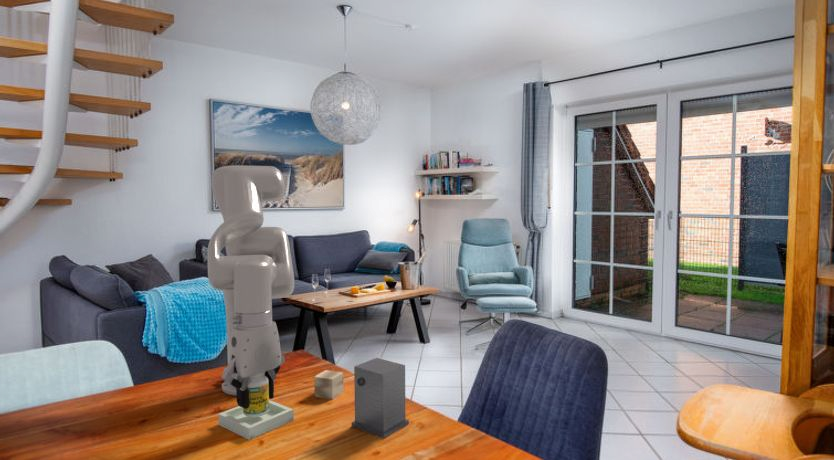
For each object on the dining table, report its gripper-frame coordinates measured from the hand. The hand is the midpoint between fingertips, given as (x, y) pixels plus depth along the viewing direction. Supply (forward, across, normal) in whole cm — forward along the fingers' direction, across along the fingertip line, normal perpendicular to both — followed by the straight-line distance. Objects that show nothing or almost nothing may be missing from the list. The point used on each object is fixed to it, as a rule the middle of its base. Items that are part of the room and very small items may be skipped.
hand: (255, 401), depth 108 cm
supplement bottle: (+3, 0, 0) cm, 3 cm away
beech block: (+5, +20, -1) cm, 21 cm away
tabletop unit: (+5, +15, -22) cm, 27 cm away
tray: (+5, 0, 0) cm, 5 cm away
